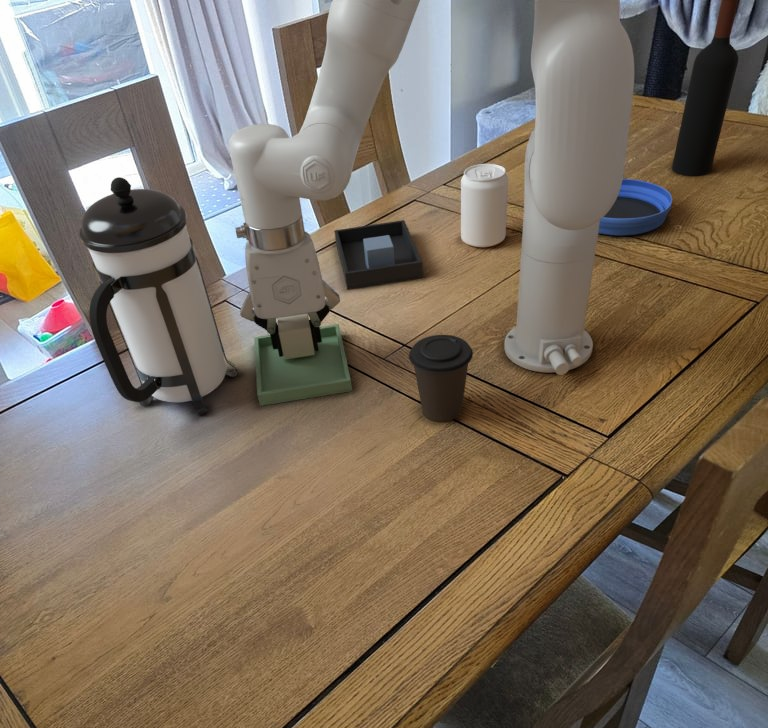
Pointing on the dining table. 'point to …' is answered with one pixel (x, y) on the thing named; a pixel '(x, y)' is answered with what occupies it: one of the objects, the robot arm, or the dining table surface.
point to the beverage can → (484, 205)
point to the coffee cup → (441, 375)
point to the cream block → (295, 336)
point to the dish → (302, 370)
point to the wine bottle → (707, 98)
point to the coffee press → (152, 297)
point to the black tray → (404, 268)
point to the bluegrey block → (378, 251)
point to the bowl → (636, 209)
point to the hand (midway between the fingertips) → (298, 347)
